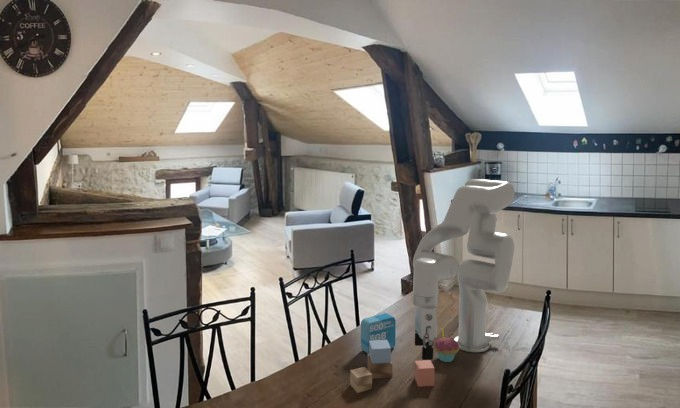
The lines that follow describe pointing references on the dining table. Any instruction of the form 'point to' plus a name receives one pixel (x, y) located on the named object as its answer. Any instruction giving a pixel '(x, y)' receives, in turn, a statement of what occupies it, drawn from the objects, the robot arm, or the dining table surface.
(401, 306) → the dining table surface
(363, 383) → the block
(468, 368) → the dining table surface
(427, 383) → the salmon orange block
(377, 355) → the tower top
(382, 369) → the tower base
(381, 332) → the data package
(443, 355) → the cupcake
